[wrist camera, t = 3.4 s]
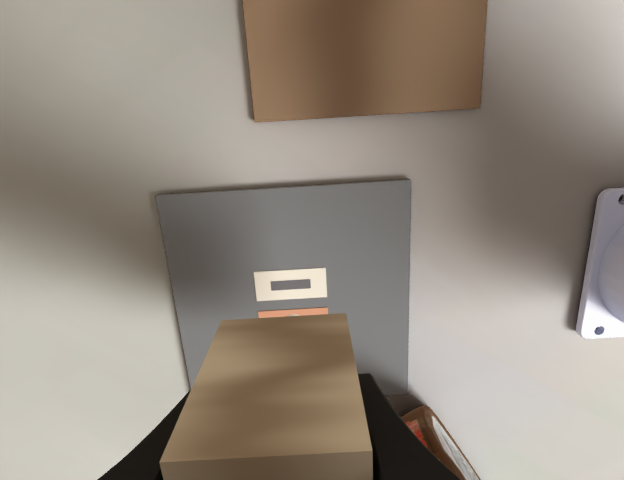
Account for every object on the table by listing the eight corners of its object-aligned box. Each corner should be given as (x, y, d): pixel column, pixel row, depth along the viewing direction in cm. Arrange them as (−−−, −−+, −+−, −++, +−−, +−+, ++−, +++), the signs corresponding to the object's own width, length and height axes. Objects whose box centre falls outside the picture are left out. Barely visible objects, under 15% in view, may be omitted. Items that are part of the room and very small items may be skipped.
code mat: (409, 179, 18) (411, 180, 18) (405, 389, 22) (407, 395, 21) (158, 194, 18) (154, 196, 18) (196, 401, 22) (193, 407, 21)
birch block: (345, 312, 14) (372, 450, 8) (349, 414, 15) (374, 595, 9) (221, 320, 14) (158, 462, 8) (236, 421, 15) (191, 604, 9)
